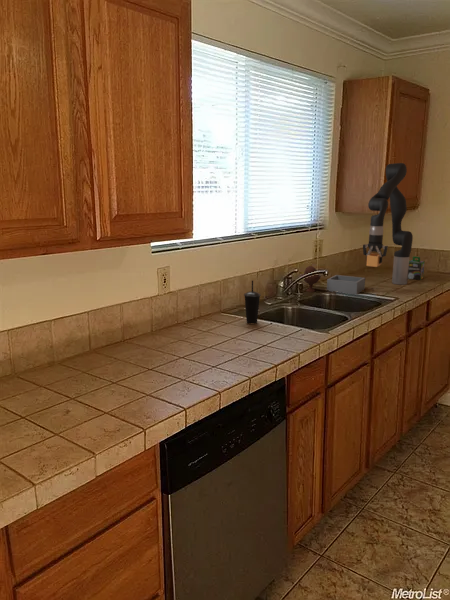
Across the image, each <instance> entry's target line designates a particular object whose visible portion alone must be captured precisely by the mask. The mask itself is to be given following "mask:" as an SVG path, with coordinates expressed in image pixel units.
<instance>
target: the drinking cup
mask: <svg viewBox="0 0 450 600" xmlns="http://www.w3.org/2000/svg"><path fill="white" fill-rule="evenodd" d="M243 296H244V306H245V307H244V308H245V317H246V318H245V321H246V324H248V323H256V324H258V319H259V318H258V317H259V308H260V300H261V293H259V292H257V291H254V280H251V290H250V291H247V292H245V293H244V294H243Z"/></svg>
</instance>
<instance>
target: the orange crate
mask: <svg viewBox="0 0 450 600" xmlns="http://www.w3.org/2000/svg"><path fill="white" fill-rule="evenodd" d="M379 257H380V256H379V254H378V253H376V252H374V253H373V252H371V254H369V255H367V256H366V259H367V261H366V267H374V268H377V267H380V266H381V265H382V263H381V264H379Z"/></svg>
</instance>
